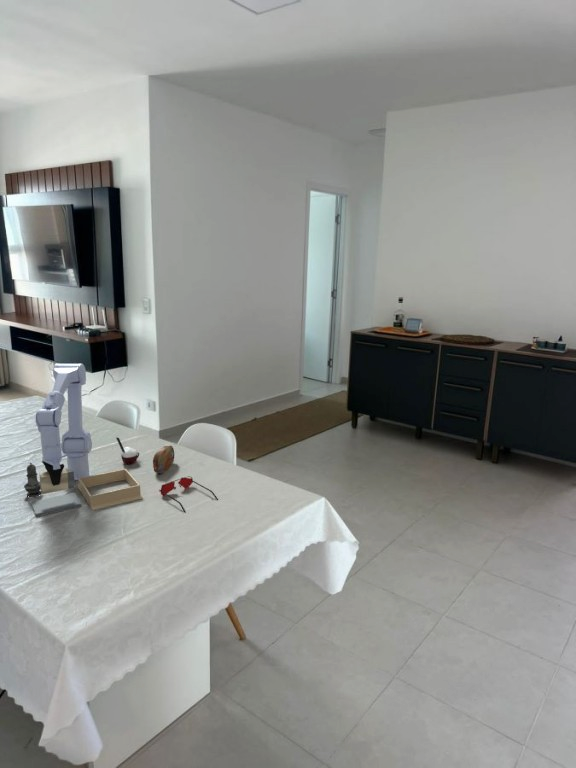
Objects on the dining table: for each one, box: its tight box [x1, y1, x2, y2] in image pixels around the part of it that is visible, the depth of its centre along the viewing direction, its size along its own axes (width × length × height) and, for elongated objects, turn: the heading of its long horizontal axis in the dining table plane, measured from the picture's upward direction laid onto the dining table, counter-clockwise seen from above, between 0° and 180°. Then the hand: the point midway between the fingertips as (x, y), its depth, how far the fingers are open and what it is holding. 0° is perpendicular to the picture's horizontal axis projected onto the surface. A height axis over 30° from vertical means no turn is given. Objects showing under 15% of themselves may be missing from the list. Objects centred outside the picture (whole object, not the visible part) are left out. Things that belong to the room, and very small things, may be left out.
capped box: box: [38, 467, 76, 495], centre depth 177 cm, size 4×10×6 cm, turn 123°
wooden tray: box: [77, 468, 144, 511], centre depth 189 cm, size 22×17×4 cm
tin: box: [152, 445, 175, 474], centre depth 209 cm, size 15×3×8 cm, turn 168°
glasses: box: [158, 475, 219, 514], centre depth 185 cm, size 14×16×5 cm
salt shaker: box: [23, 462, 43, 498], centre depth 185 cm, size 6×6×12 cm
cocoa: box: [116, 437, 140, 466], centre depth 214 cm, size 10×6×12 cm, turn 117°
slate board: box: [30, 492, 82, 517], centre depth 179 cm, size 10×14×1 cm
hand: (54, 482), depth 177 cm, fingers closed on capped box, 4 cm apart
